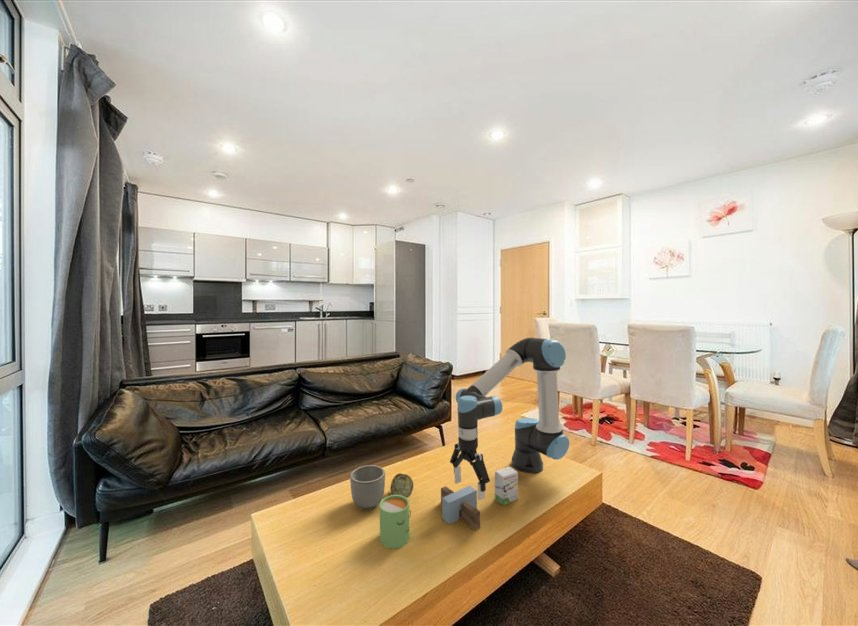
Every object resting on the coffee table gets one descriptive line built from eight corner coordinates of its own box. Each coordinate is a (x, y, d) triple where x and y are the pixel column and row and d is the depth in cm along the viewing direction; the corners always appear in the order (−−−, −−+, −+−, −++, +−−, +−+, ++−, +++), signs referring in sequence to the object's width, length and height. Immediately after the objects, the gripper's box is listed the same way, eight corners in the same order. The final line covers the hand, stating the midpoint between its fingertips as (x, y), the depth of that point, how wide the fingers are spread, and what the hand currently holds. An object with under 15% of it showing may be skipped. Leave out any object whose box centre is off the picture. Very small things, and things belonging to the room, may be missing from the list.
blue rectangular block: (469, 505, 130) (469, 485, 130) (476, 510, 127) (476, 490, 127) (442, 518, 122) (442, 497, 122) (448, 524, 119) (448, 503, 119)
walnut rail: (445, 500, 133) (445, 486, 133) (480, 527, 117) (480, 511, 117) (441, 502, 132) (441, 488, 132) (475, 530, 116) (475, 513, 116)
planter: (391, 499, 134) (391, 468, 134) (372, 520, 122) (372, 486, 121) (364, 491, 140) (364, 462, 140) (343, 510, 127) (342, 477, 127)
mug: (398, 553, 105) (398, 516, 105) (374, 541, 111) (373, 506, 111) (419, 530, 116) (419, 497, 116) (396, 520, 122) (396, 488, 121)
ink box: (502, 505, 130) (502, 476, 129) (494, 499, 134) (494, 471, 134) (518, 499, 134) (518, 471, 134) (510, 493, 138) (510, 466, 138)
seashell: (418, 491, 140) (418, 468, 140) (408, 507, 129) (408, 482, 129) (396, 487, 144) (395, 464, 143) (384, 502, 133) (384, 477, 133)
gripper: (440, 429, 134) (442, 479, 135) (483, 451, 114) (485, 510, 115) (454, 424, 139) (455, 473, 140) (498, 445, 118) (499, 502, 119)
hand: (469, 490), depth 127 cm, fingers open, 13 cm apart
